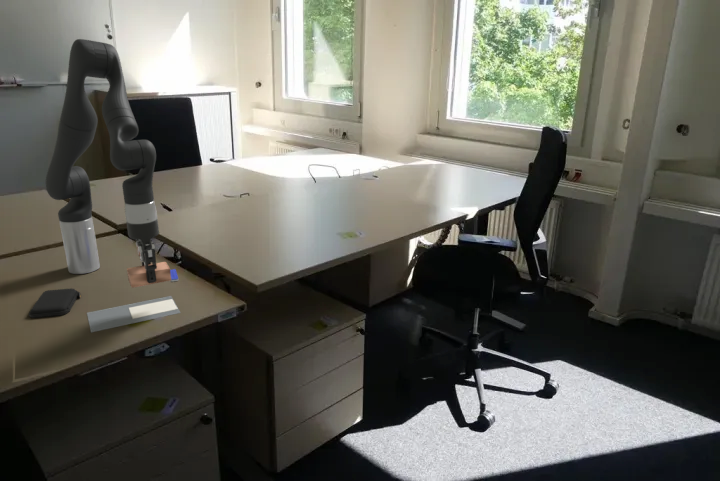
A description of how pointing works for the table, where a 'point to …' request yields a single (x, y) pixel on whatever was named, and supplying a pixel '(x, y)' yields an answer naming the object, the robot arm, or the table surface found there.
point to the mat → (131, 313)
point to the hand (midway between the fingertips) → (149, 277)
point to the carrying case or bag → (54, 303)
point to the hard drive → (173, 275)
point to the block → (140, 279)
